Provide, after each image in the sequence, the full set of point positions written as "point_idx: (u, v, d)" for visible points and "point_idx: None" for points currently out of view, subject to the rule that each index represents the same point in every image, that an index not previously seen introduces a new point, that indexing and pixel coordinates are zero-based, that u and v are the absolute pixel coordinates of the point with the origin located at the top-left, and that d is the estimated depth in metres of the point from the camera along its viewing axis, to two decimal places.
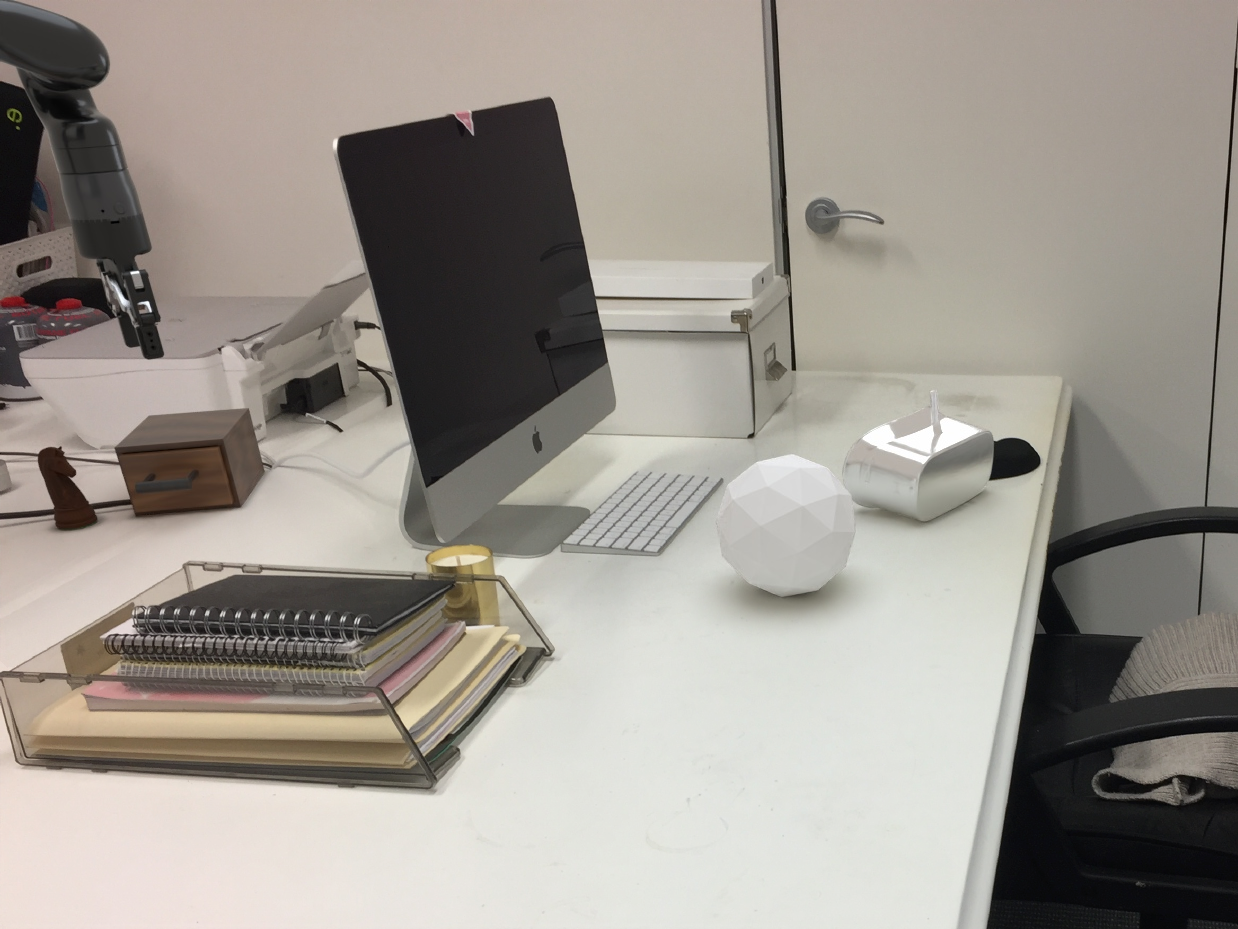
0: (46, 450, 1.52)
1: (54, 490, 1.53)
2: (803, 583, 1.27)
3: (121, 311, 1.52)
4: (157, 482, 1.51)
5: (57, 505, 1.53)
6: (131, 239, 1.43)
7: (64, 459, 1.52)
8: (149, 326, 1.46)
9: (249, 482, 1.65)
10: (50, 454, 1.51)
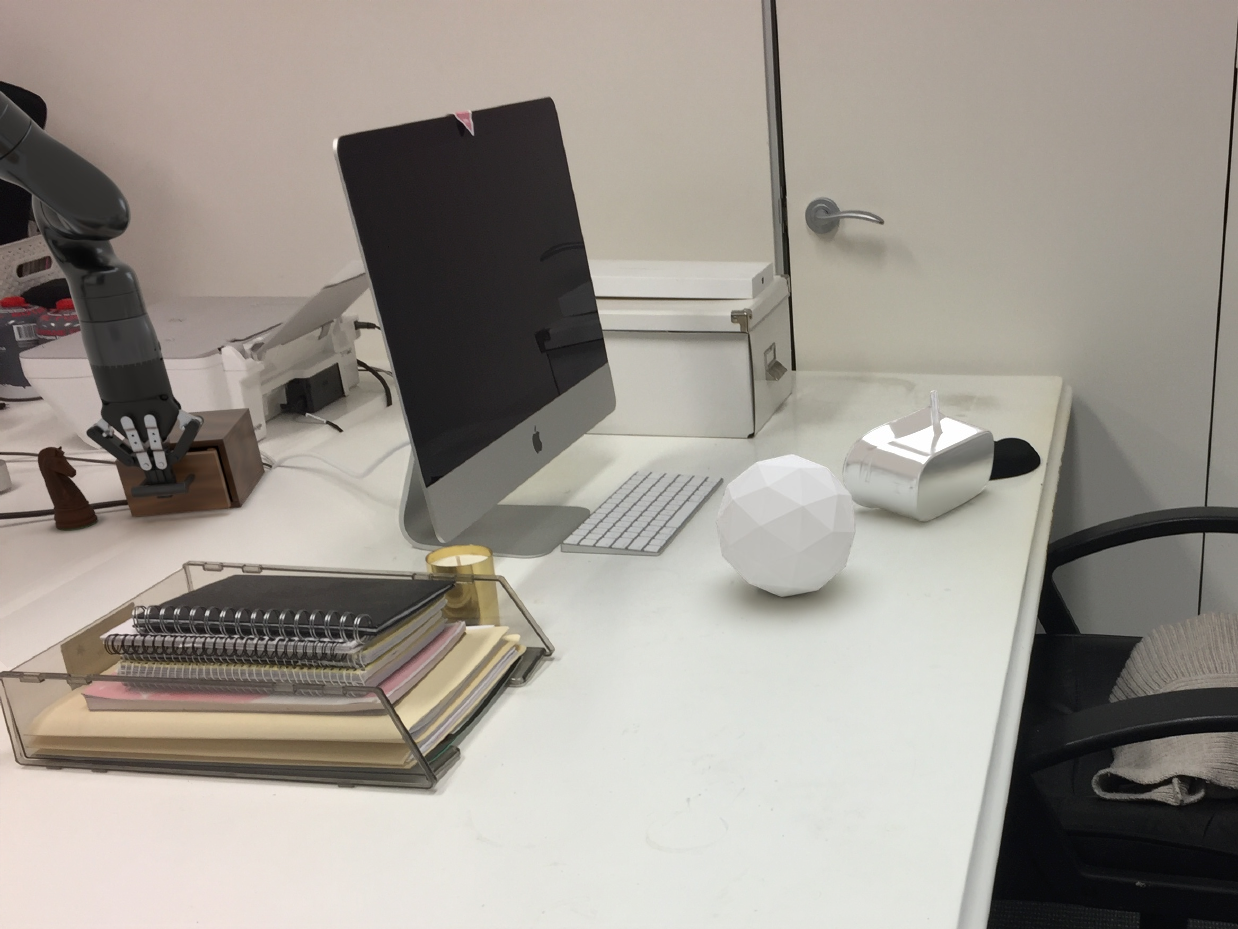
0: (46, 450, 1.52)
1: (54, 490, 1.53)
2: (803, 583, 1.27)
3: (150, 460, 1.49)
4: (153, 486, 1.49)
5: (57, 505, 1.53)
6: (167, 374, 1.47)
7: (64, 459, 1.52)
8: (171, 464, 1.51)
9: (249, 482, 1.65)
10: (50, 454, 1.51)
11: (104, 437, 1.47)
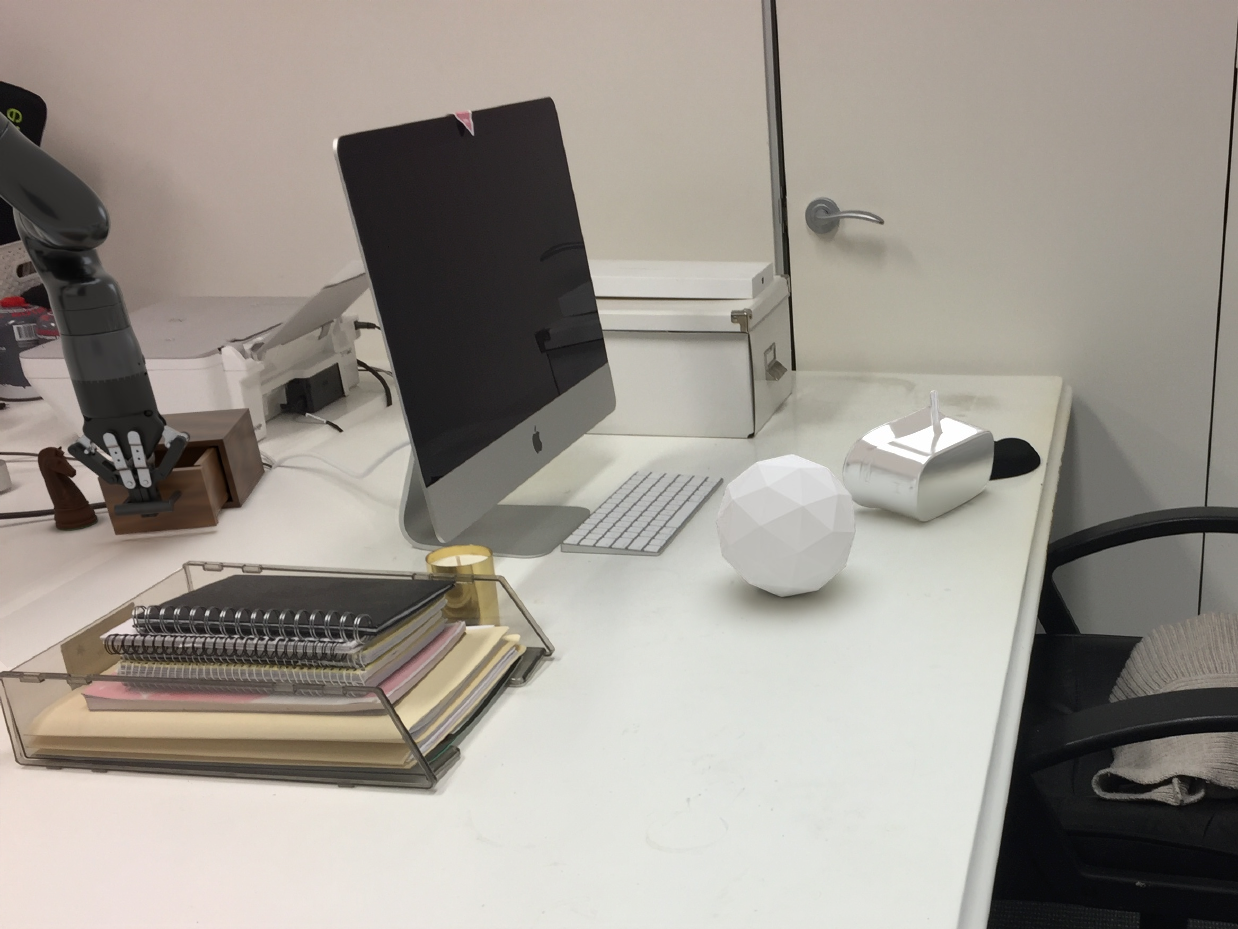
0: (46, 450, 1.52)
1: (54, 490, 1.53)
2: (803, 583, 1.27)
3: (134, 478, 1.44)
4: (137, 504, 1.44)
5: (57, 505, 1.53)
6: None
7: (64, 459, 1.52)
8: (156, 481, 1.45)
9: (249, 482, 1.65)
10: (50, 454, 1.51)
11: (86, 454, 1.41)
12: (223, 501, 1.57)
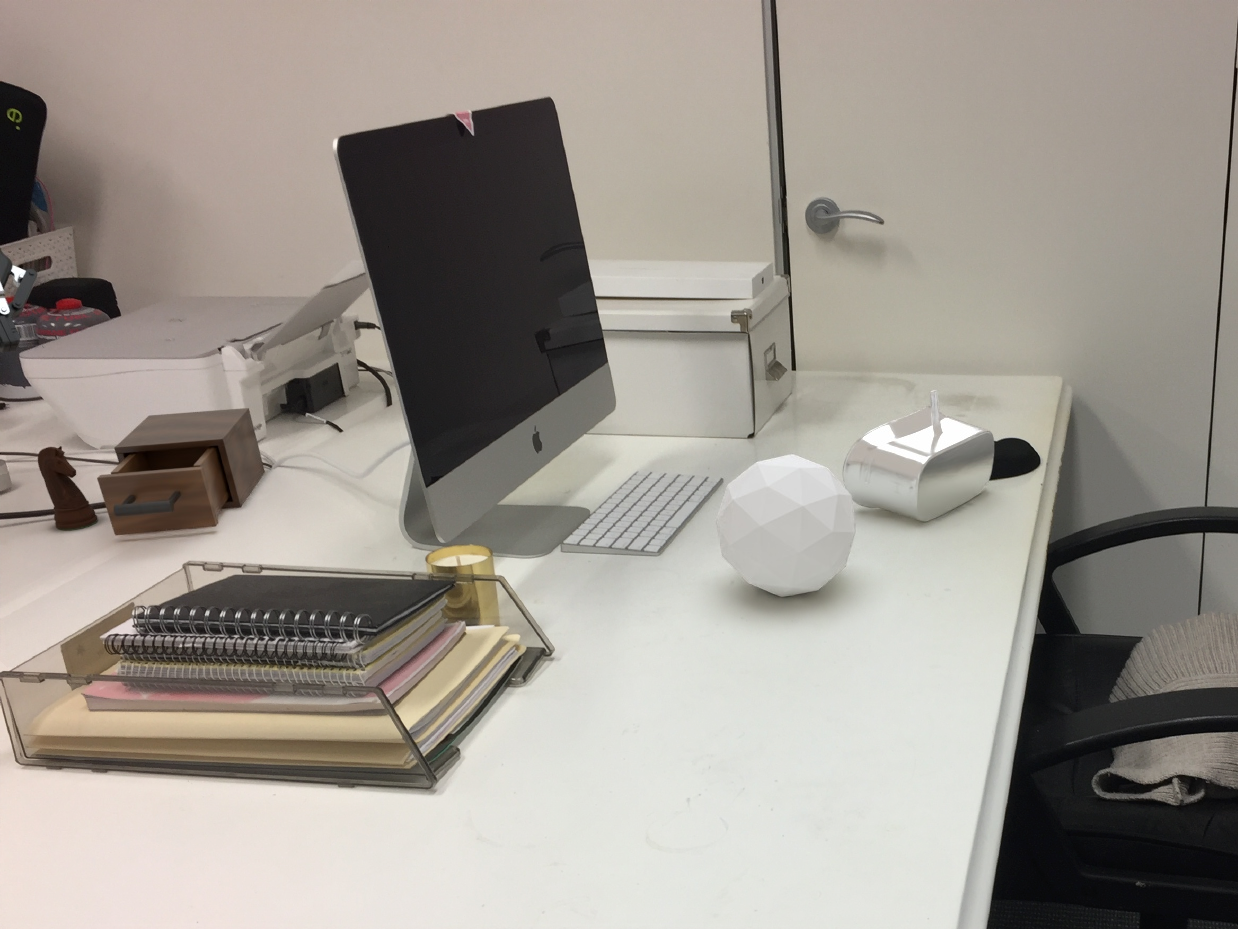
0: (46, 450, 1.52)
1: (54, 490, 1.53)
2: (803, 583, 1.27)
3: None
4: (137, 505, 1.44)
5: (57, 505, 1.53)
6: None
7: (64, 459, 1.52)
8: None
9: (249, 482, 1.65)
10: (50, 454, 1.51)
11: None
12: (223, 501, 1.57)
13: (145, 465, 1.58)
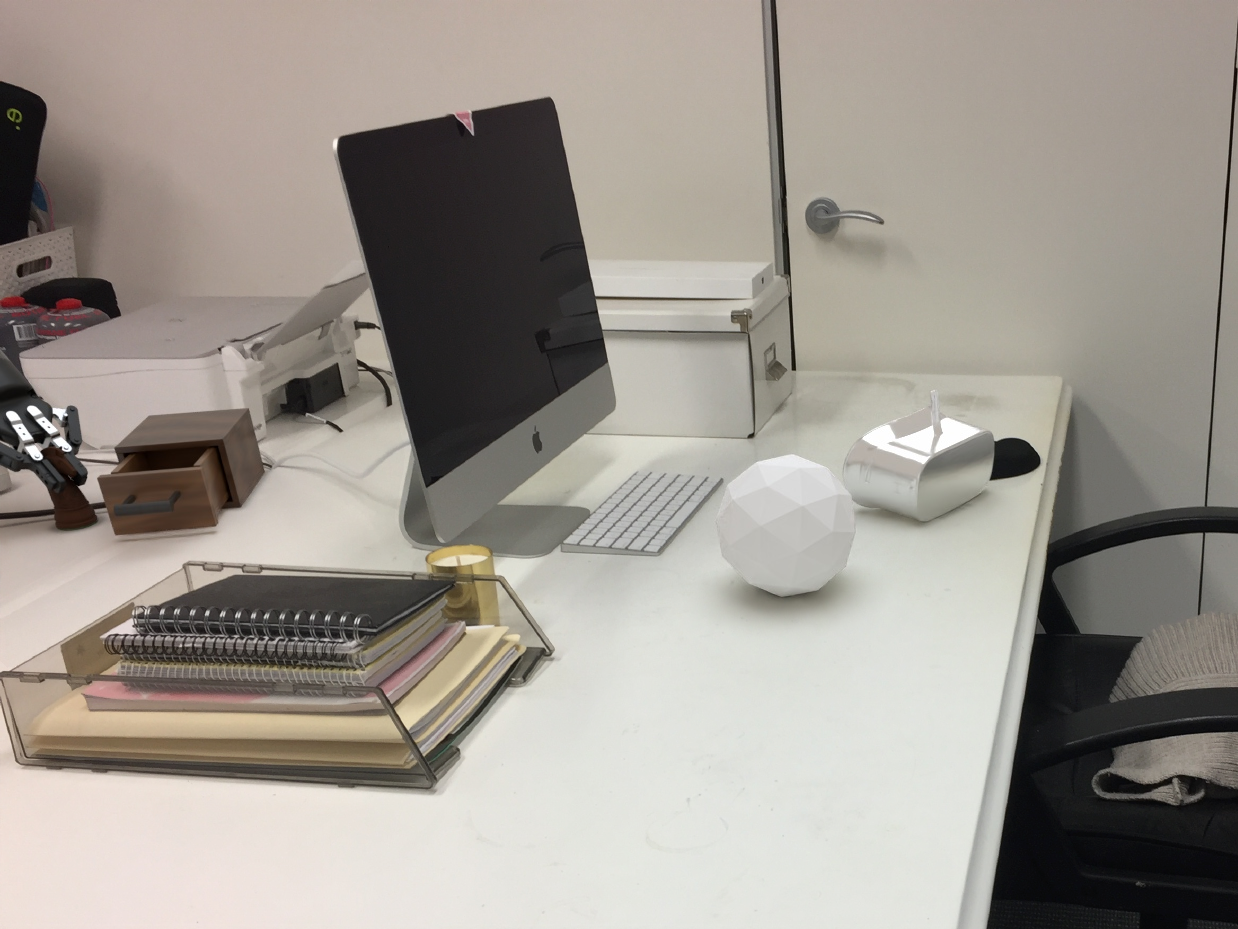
0: (46, 449, 1.52)
1: None
2: (803, 583, 1.27)
3: None
4: (137, 505, 1.44)
5: (57, 505, 1.53)
6: None
7: (64, 459, 1.52)
8: None
9: (249, 482, 1.65)
10: (50, 454, 1.51)
11: None
12: (223, 501, 1.57)
13: (145, 465, 1.58)
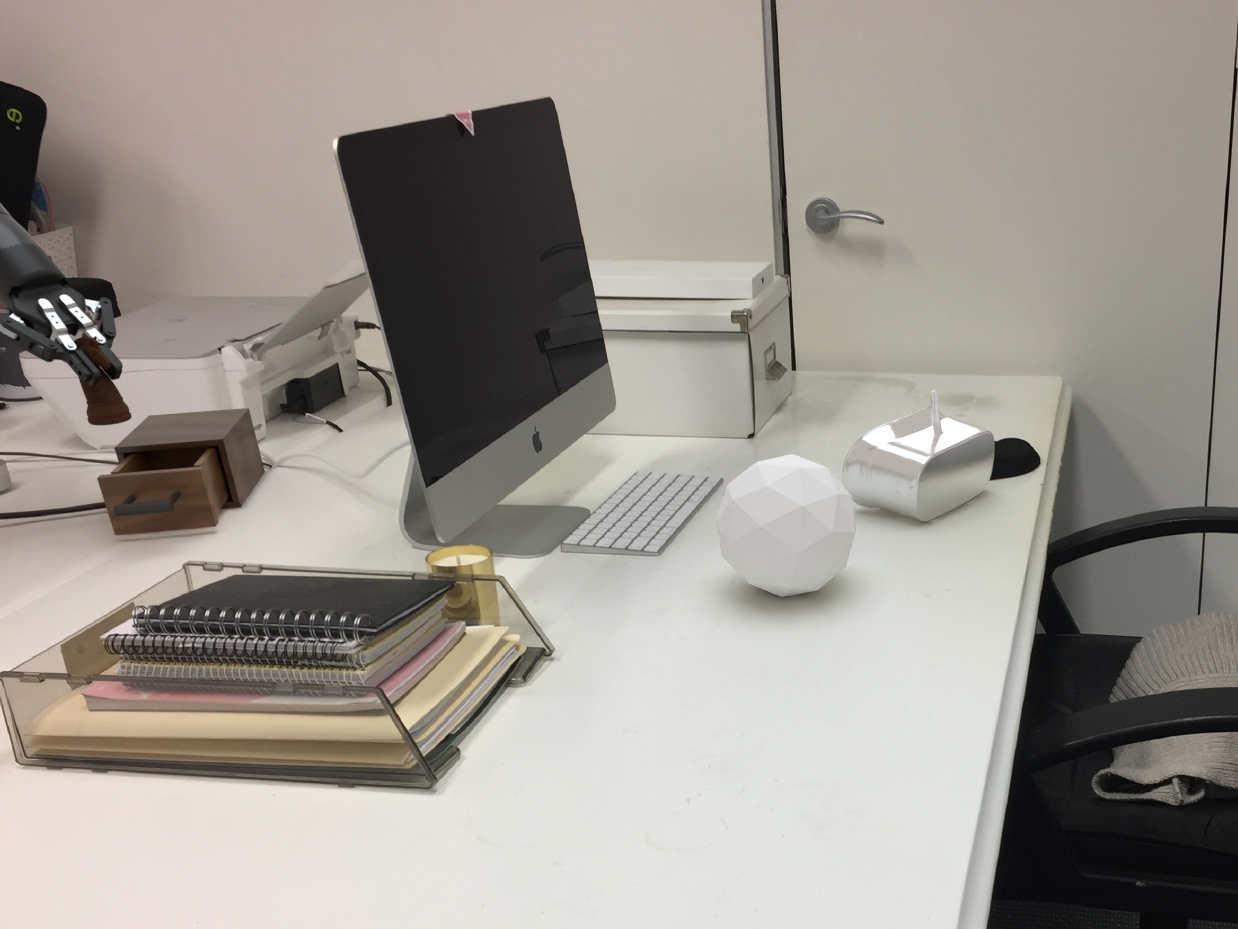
0: (80, 340, 1.45)
1: (88, 383, 1.46)
2: (803, 583, 1.27)
3: None
4: (137, 505, 1.44)
5: (90, 399, 1.47)
6: None
7: (99, 350, 1.46)
8: None
9: (249, 482, 1.65)
10: (84, 344, 1.45)
11: (22, 324, 1.42)
12: (223, 501, 1.57)
13: (145, 465, 1.58)
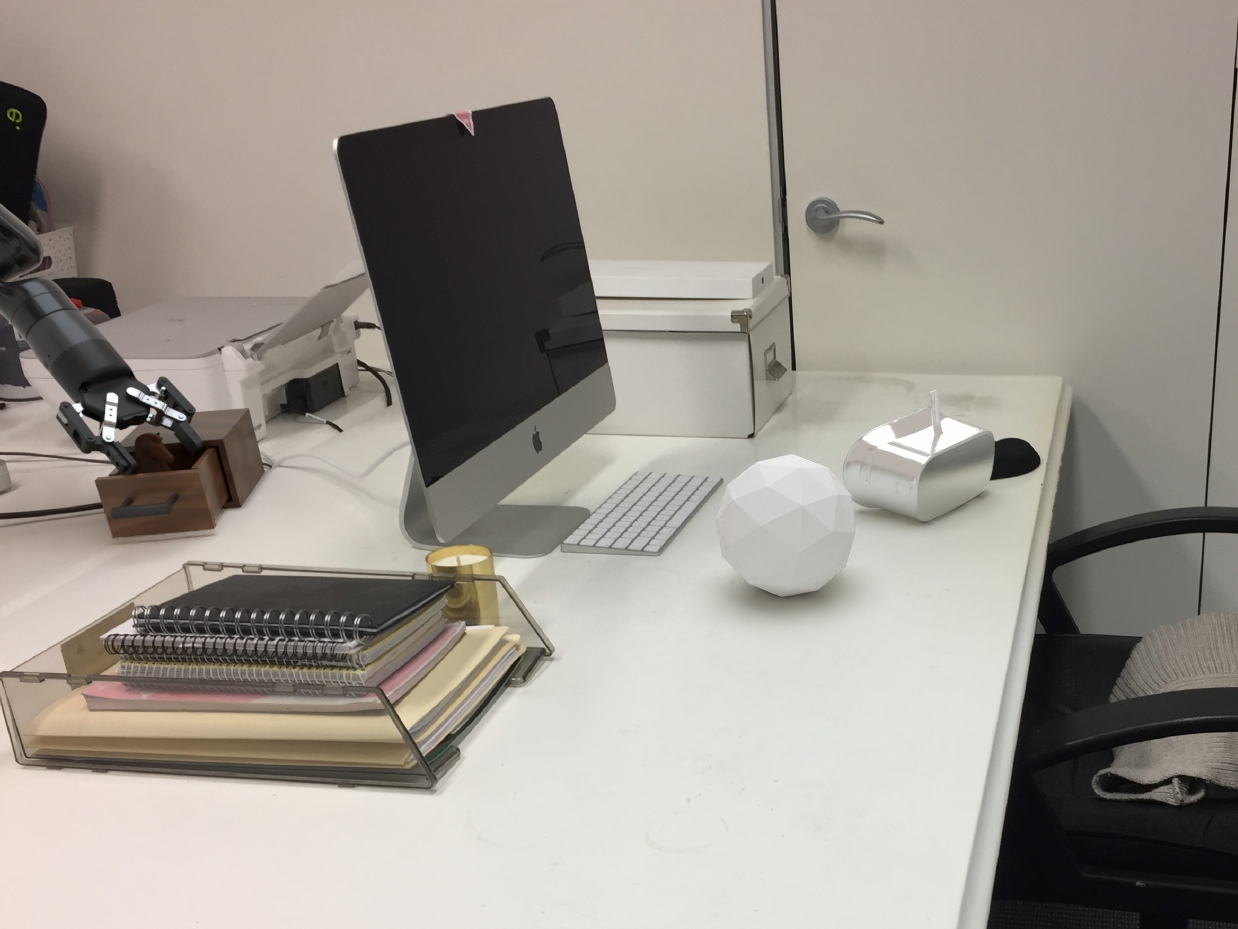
0: (144, 436, 1.49)
1: None
2: (803, 583, 1.27)
3: None
4: (134, 507, 1.43)
5: None
6: None
7: (162, 445, 1.49)
8: None
9: (249, 482, 1.65)
10: (148, 440, 1.49)
11: (77, 412, 1.45)
12: (221, 504, 1.56)
13: None
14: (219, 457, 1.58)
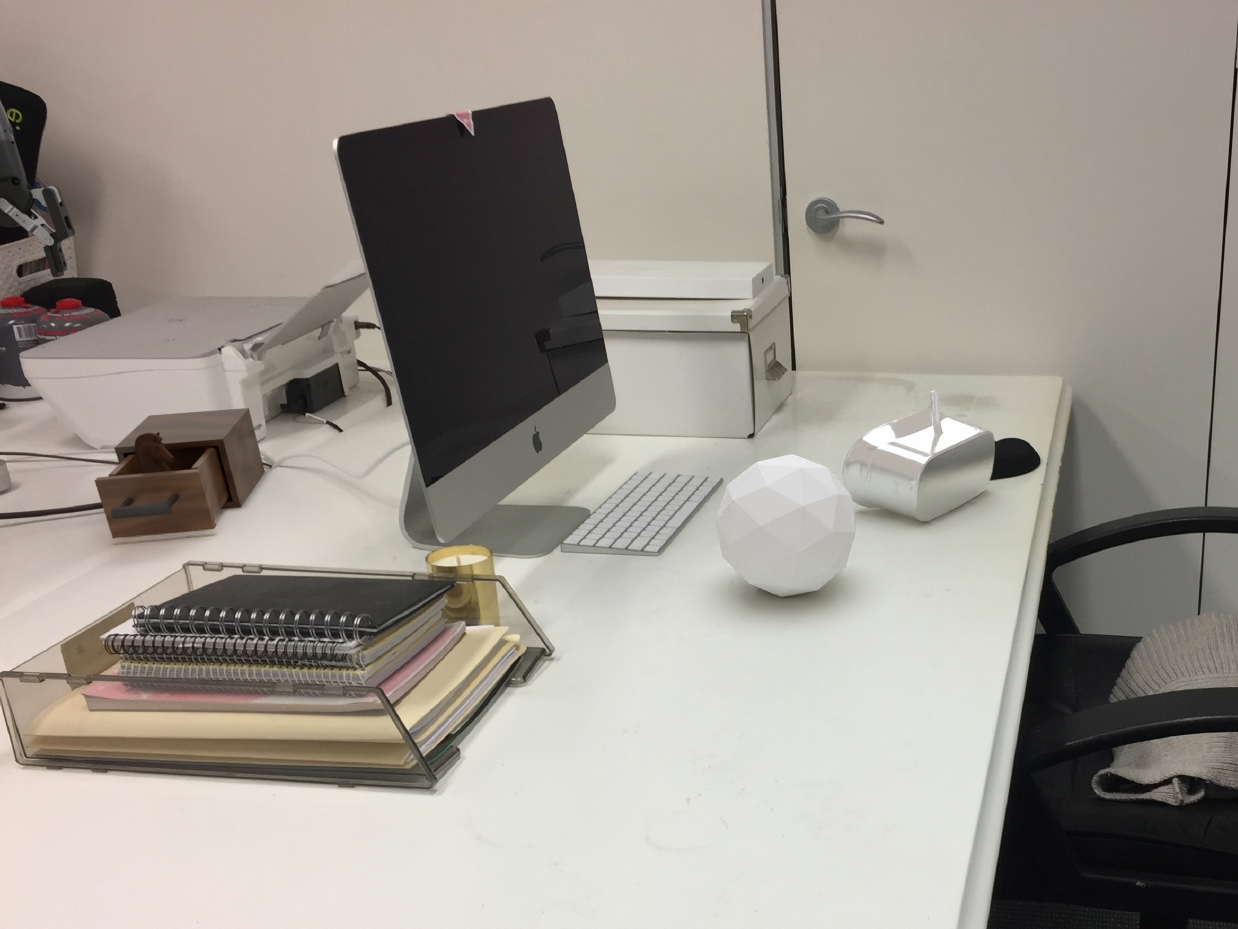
0: (144, 436, 1.49)
1: None
2: (803, 583, 1.27)
3: None
4: (134, 507, 1.43)
5: None
6: (20, 160, 1.49)
7: (162, 445, 1.49)
8: (60, 242, 1.53)
9: (249, 482, 1.65)
10: (148, 440, 1.49)
11: None
12: (221, 504, 1.56)
13: None
14: (219, 457, 1.58)
